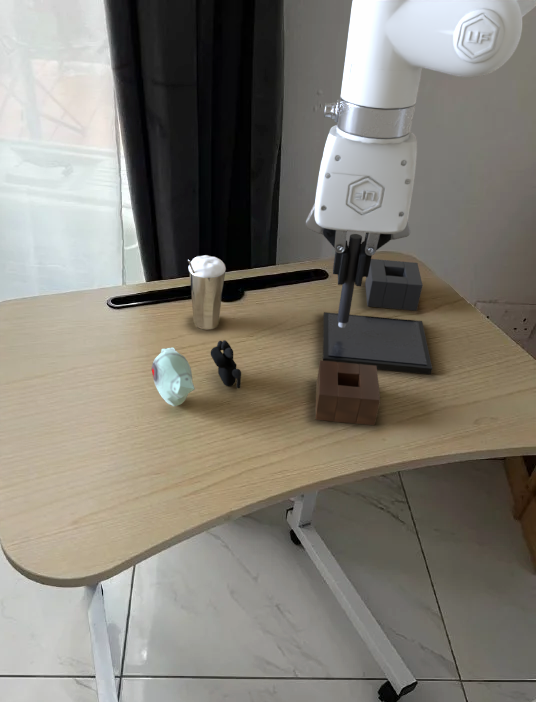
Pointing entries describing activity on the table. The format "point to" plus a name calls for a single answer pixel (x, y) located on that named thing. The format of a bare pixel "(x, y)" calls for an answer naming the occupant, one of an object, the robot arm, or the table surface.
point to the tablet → (377, 343)
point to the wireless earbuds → (226, 364)
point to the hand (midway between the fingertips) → (349, 279)
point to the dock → (393, 285)
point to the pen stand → (347, 393)
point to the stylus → (349, 279)
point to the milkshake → (206, 290)
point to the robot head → (172, 376)
